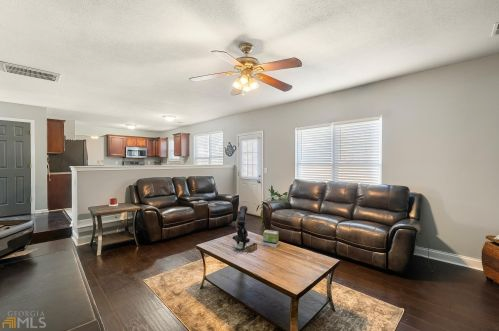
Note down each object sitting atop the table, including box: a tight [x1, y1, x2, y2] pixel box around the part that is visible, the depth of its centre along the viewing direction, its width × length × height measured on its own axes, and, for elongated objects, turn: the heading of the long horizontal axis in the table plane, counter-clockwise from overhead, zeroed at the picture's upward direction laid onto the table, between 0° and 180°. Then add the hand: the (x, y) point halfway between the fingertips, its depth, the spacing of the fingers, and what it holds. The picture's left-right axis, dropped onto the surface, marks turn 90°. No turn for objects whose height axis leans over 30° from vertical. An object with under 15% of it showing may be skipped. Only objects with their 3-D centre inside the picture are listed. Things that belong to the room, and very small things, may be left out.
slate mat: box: [233, 246, 246, 253], centre depth 232 cm, size 9×13×1 cm
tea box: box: [262, 229, 280, 248], centre depth 244 cm, size 15×10×15 cm
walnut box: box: [245, 242, 258, 254], centre depth 228 cm, size 12×5×6 cm, turn 143°
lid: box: [234, 241, 248, 249], centre depth 232 cm, size 10×6×3 cm, turn 143°
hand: (241, 247), depth 232 cm, fingers closed on lid, 6 cm apart
